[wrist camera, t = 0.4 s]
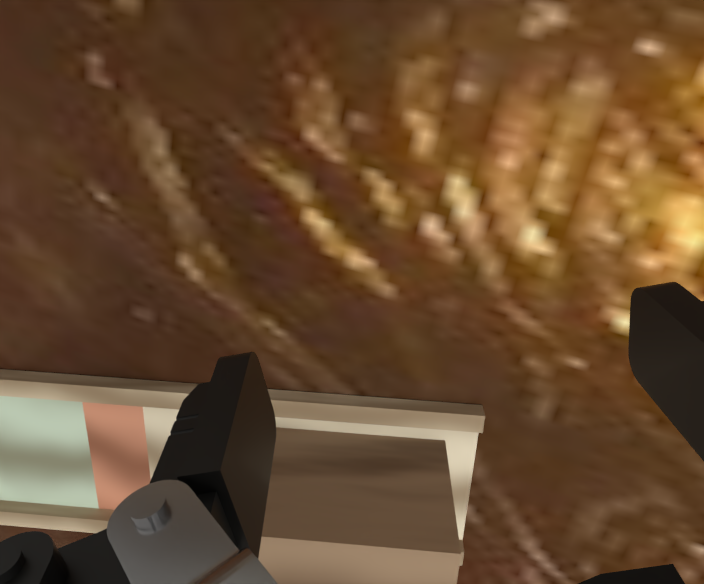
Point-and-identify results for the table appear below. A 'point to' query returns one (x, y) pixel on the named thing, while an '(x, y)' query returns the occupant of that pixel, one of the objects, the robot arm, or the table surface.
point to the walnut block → (359, 510)
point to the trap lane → (152, 433)
